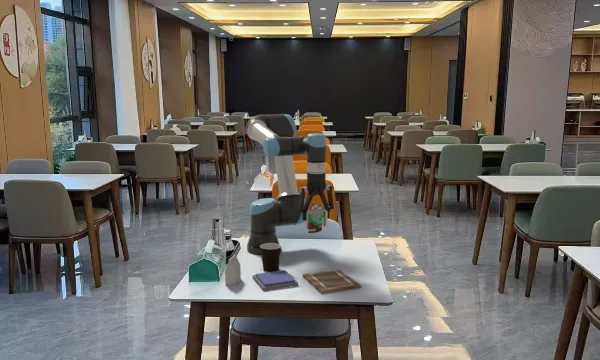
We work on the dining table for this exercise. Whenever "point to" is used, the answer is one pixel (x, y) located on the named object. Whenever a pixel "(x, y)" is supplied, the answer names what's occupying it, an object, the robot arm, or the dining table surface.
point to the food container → (315, 218)
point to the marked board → (331, 281)
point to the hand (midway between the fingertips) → (315, 227)
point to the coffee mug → (270, 256)
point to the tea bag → (232, 271)
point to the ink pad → (274, 280)
